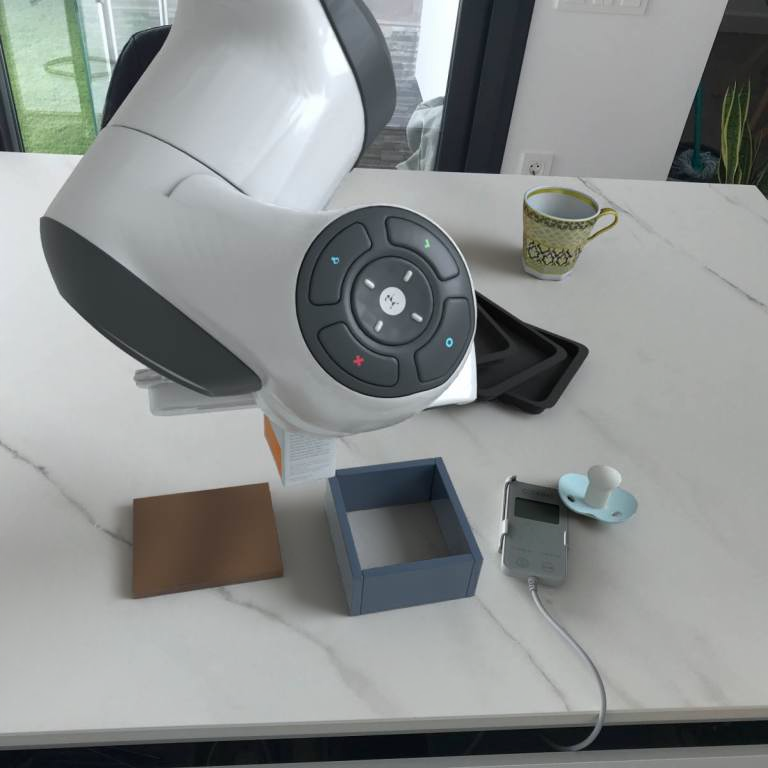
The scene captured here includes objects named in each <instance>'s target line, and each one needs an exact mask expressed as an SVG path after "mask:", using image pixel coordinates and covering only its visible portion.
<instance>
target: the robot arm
mask: <svg viewBox="0 0 768 768" xmlns="http://www.w3.org/2000/svg"><path fill="white" fill-rule="evenodd" d="M383 33H384V32H383V31H382V29H381V26H380V24H379V23H378V21H377V19H376V17H375V16H374V15H373V12H372V11H371V10H370V8H369V7H368V5H367V4H366V2H365V1H364V0H177V6H176V10H175V14H174V18H173V21H172V25H171V28H170V30H169V33H168V35H167V36H166V39H165V41H164V42H163V44H162V46H161V48H160V50H159V51H158V52H157V54H156V55H155V56H154V58H153V59H152V61H151V62H150V64H148V66H147V68H146V69H145V71H144V72H143V74H142V75H141V76H140V78H139V79H138V80H137V82H136V83H135V85H134V86H133V88H132V89H131V91H130V92H129V93H128V95H127V96H126V97H125V99H124V100H123V102H122V103H121V105H120V106H119V107H118V108H117V110H116V112H115V113H114V115H113V116H112V117H111V119H110V120H109V122H108V123H107V125H106V126H105V127H103V128H102V129H101V130H100V131H99V133H98V134H97V136H96V137H95V139H94V140H93V141H92V142H91V144H90V146H89V147H88V149H87V150H86V151H85V153H84V154H83V156H82V157H81V158H80V160H79V161H78V163H77V164H76V166H75V167H74V168H73V170H72V171H71V173H70V175H69V176H68V177H67V179H66V180H65V182H64V183H63V185H62V186H61V188H60V189H59V190H58V192H57V193H56V195H55V196H54V198H53V199H52V201H51V202H50V203H49V205H48V207H47V209H46V211H45V212H44V214H43V215H42V216H41V217H39V236H40V243H41V248H42V252H43V256H44V258H45V261H46V265H47V267H48V270H49V272H50V275H51V278H52V279H53V282H54V285H55V287H56V289H57V291H58V294H59V296H61V298H62V299H63V300H64V301H65V302H66V303H67V304H68V305H69V306H70V307H71V308H72V309H73V310H74V311H75V313H77V314H78V315H79V316H80V317H81V318H82V319H83V320H85V322H86V323H88V324H89V325H90V326H91V327H92V328H93V329H94V330H95V331H97V332H98V333H99V334H100V335H101V336H103V337H104V338H105V339H106V340H108V341H109V342H110V343H111V344H113V345H114V346H116V348H118V349H119V350H121V351H122V352H124V353H125V354H127V356H129V357H131V358H132V359H134V361H137V362H138V363H139V364H141V365H143V366H145V367H146V368H141V369H137V370H135V371H134V376H133V378H132V380H133V381H134V383H135V386H136V387H137V388H139V389H143V390H145V389H146V390H147V394H148V404H149V411H150V414H151V415H153V416H156V417H178V416H187V415H198V414H211V413H221V412H231V411H232V412H233V411H239V410H240V411H241V410H242V411H243V410H252V409H254V410H255V409H260V410H261V411H262V413H263V412H264V414H265V415H266V416H267V417H268V418H269V419H270V420H272V421H273V422H274V423H275V424H277V425H278V426H280V427H281V428H283V429H284V430H286V431H288V432H290V433H293V434H295V435H298V436H301V437H305V438H310V439H320V440H323V439H335V438H337V439H340V438H344V437H351V436H355V435H358V434H362V433H364V434H365V433H371V432H375V431H380V430H383V429H388V428H391V427H394V426H396V425H399V424H401V423H404V422H406V421H408V420H409V419H411V418H413V417H414V416H416V415H418V414H420V413H421V412H422V413H423V412H426V411H427V412H428V411H433V410H439V409H446V408H454V407H457V406H458V405H466V404H470V403H472V402H475V399H476V398H477V372H476V357H475V346H474V336H475V331H476V321H477V305H476V296H475V290H476V289H475V286H474V281H473V277H472V274H471V271H470V268H469V266H468V263H467V260H466V259H465V257H464V255H463V253H462V251H461V250H460V248H459V246H458V245H457V243H456V241H454V239H453V238H452V237H451V236H450V234H449V233H448V232H447V231H446V230H445V229H444V228H443V227H442V226H441V225H439V224H438V223H437V222H436V221H435V220H433V219H432V218H430V217H429V216H427V215H426V214H424V213H422V212H420V211H418V210H416V209H414V208H411V207H409V206H405V205H402V204H397V203H391V202H365V203H358V204H352V205H348V206H344V207H340V208H339V207H338V208H334V209H328V207H329V206H330V204H331V202H332V201H333V199H334V198H335V196H336V195H337V193H338V191H339V189H340V188H341V186H342V185H343V183H344V181H345V180H346V178H347V176H348V175H349V174H350V173H351V172H352V171H353V170H354V169H355V168H356V167H357V166H358V164H360V162H361V160H362V159H363V158H364V156H365V155H366V154H367V152H368V151H369V149H370V148H371V147H372V146H373V144H374V143H375V141H376V140H377V139H378V138H379V136H380V135H381V134H382V132H383V131H384V129H385V128H386V127H387V125H388V124H389V123H390V121H391V120H392V118H393V116H394V114H395V110H396V107H397V98H398V97H397V96H398V95H397V83H396V76H395V71H394V66H393V60H392V57H391V54H390V50H389V46H388V43H387V40H386V38H385V36H384V34H383ZM474 289H475V290H474ZM264 414H263V415H264Z"/></svg>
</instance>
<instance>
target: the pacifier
mask: <svg viewBox="0 0 768 768" xmlns="http://www.w3.org/2000/svg"><path fill="white" fill-rule="evenodd" d="M621 483H622V475H621V473H620V472H619V471H618V470H616V469H615V468H614V467H611V466H608V465H604V464H595V465H592V466H590V467H589V468H588V469H587V474H581V473H574V472H569V473H566V474H563V475H562V476H561V477H560V478H559V481H558V485H557V491H558V494H559V495H558V496H559V497H560V500H561V501H562V503H563V504H564V505H565V506H566V507H567V508H568V509H569V510H571V511H572V512H574V513H577V514H580V515H583V516H585V517H588V518H591V519H595V520H597V521H599V522H601V523H605V524H607V525H608V524H609V525H616V524H617V525H618V524H622V523H626V522H627V521H629V520H630V519H631V518H633V517H634V515H636V513H637V511H638V507H639V503H638V499H636V497H635V496H634V494H632V493H630V492H629V491H628V490H625V489H623V488H621V487H619V486H620V485H621ZM568 497H569V498H570V499H571V500H573V501H571V500H570V499H569V498H568ZM613 515H620V516H613Z"/></svg>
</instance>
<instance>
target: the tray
mask: <svg viewBox="0 0 768 768" xmlns="http://www.w3.org/2000/svg"><path fill="white" fill-rule="evenodd" d="M474 290H475V296H476V305H477V321H476V331H475V336H474V346H475V357H476V372H477V398H476V399H475V400H474V402H478V403H486V402H489V401H492V400H497V401H499V402H502V403H504V404H506V405H508V406H511V407H513V408H515V409H518V410H520V411H523V412H525V413H528V414H530V415H531V414H532V415H540V414H542V413H543V412H544V411H545V410H548V409H551V408H553V407H555V406H556V404H557V403H558V401H559V399H560V398H561V397H562V396H563V394H564V392H565V391H566V389H567V388H568V386H569V385H570V383H571V382H572V380H573V379H574V378H575V376H576V374H577V373H578V371H579V370H580V368H581V367H582V365H583V364H584V362H585V361H586V359H587V357H589V354H590V349H589V348H588V347H587V346H586V345H585V344H583V343H581V342H578V341H575V340H573V339H571V338H568V337H565V336H562V335H559V334H557V333H555V332H552V331H549V330H547V329H544V328H541V327H538V326H536V325H533V324H530V323H528V322H526V321H523V320H522V319H520V318H518V316H515V315H514V314H512V313H511V312H509V311H508V310H506V309H505V308H503V307H502V306H501V305H499V304H497V303H496V302H495V301H493V300H491V299H489V297H487V296H485V295H484V294H482V293H481V292H479V291H478V290H476V289H475V288H474Z"/></svg>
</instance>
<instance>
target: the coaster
mask: <svg viewBox="0 0 768 768" xmlns="http://www.w3.org/2000/svg"><path fill="white" fill-rule="evenodd" d="M276 523H277V522H276V518H275V512H274V506H273V499H272V495H271V489H270V483H269V482H259V483H250V484H243V485H234V486H227V487H225V486H224V487H218V488H210V489H202V490H194V491H187V492H186V491H184V492H177V493H170V494H162V495H160V494H159V495H154V496H153V495H152V496H144V497H137V498H133V499H132V595H133V599H134V600H137V599H144V598H151V597H157V596H165V595H172V594H178V593H184V592H190V591H198V590H204V589H211V588H217V587H223V586H231V585H237V584H245V583H250V582H257V581H263V580H269V579H270V580H271V579H277V578H283V577H284V571H285V570H284V565H283V558H282V551H281V546H280V542H279V541H280V540H279V535H278V529H277V524H276Z"/></svg>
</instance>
